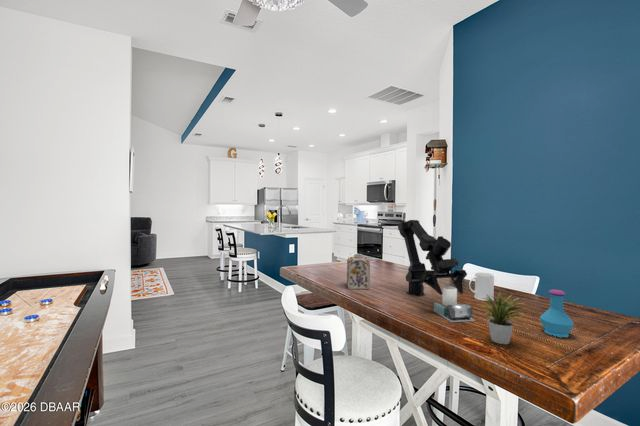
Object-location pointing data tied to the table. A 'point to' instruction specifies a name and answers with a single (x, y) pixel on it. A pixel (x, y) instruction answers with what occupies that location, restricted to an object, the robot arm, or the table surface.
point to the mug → (483, 286)
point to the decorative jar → (358, 272)
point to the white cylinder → (449, 296)
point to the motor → (455, 312)
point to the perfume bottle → (556, 316)
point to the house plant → (501, 319)
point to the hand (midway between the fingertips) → (451, 294)
